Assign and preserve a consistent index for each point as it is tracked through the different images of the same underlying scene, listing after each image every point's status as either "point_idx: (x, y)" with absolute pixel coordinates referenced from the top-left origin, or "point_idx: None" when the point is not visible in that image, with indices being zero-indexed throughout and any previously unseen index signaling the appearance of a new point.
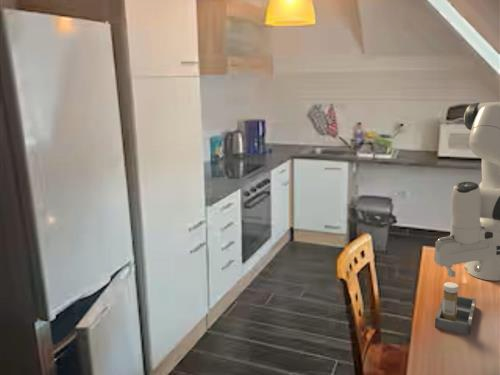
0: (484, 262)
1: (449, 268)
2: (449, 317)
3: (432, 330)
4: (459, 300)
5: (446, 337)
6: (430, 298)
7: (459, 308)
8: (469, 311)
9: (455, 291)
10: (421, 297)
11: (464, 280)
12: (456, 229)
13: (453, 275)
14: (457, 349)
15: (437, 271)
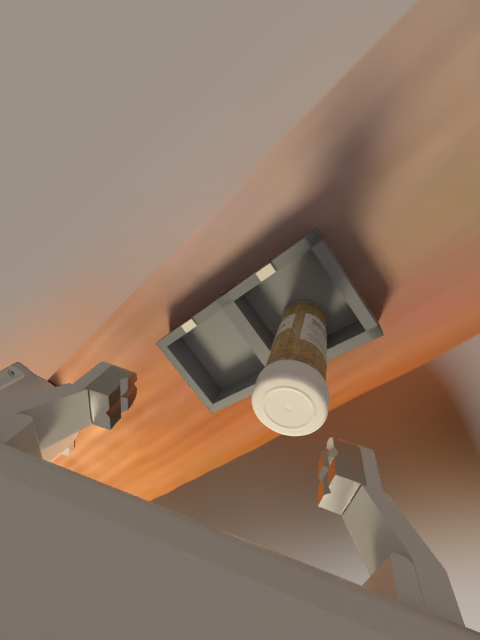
0: (10, 401)
1: (430, 558)
2: (319, 317)
3: (408, 310)
4: (194, 369)
5: (408, 253)
6: (245, 422)
7: (244, 335)
8: (229, 305)
9: (298, 364)
10: (263, 439)
11: None
12: None
13: (350, 450)
14: (459, 166)
15: (135, 475)
